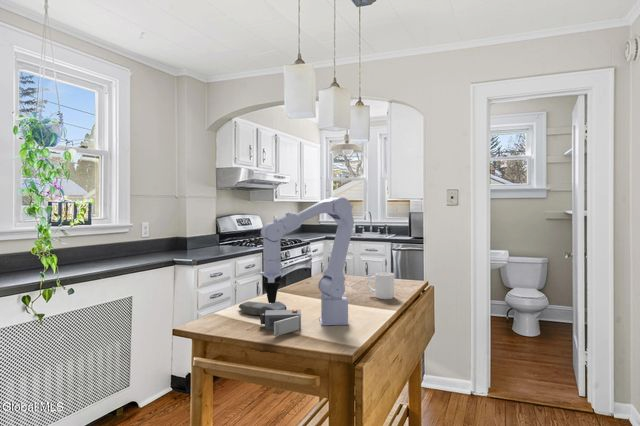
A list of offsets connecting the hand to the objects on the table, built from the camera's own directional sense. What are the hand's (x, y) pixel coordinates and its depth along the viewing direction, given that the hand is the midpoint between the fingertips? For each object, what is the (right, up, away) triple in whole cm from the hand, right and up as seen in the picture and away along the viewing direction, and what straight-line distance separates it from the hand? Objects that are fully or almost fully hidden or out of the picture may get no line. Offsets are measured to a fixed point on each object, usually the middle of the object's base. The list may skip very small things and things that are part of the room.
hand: (272, 299), depth 144 cm
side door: (+5, -10, -3) cm, 12 cm away
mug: (+42, -8, +46) cm, 63 cm away
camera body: (+3, -10, +4) cm, 11 cm away
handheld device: (-7, -10, +21) cm, 24 cm away
